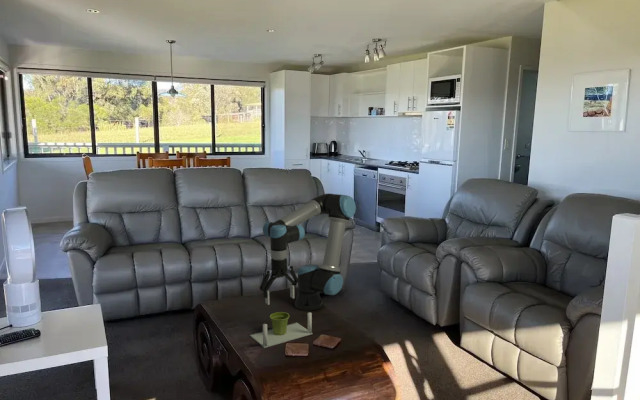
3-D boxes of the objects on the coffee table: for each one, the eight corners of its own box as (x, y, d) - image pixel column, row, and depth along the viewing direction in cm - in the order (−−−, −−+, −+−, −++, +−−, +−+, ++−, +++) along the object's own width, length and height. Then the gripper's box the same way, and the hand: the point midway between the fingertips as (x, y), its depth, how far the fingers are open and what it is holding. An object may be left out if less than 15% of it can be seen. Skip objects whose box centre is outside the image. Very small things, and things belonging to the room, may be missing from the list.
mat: (296, 323, 233) (296, 303, 231) (312, 334, 220) (312, 313, 219) (250, 335, 218) (249, 315, 217) (264, 347, 206) (263, 325, 204)
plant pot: (286, 337, 215) (286, 320, 214) (267, 336, 217) (267, 318, 216) (291, 329, 224) (291, 312, 223) (273, 327, 226) (273, 311, 225)
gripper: (297, 251, 225) (298, 292, 228) (251, 260, 211) (253, 304, 215) (305, 255, 219) (306, 297, 222) (258, 264, 205) (260, 309, 208)
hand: (280, 300), depth 218 cm, fingers open, 13 cm apart
